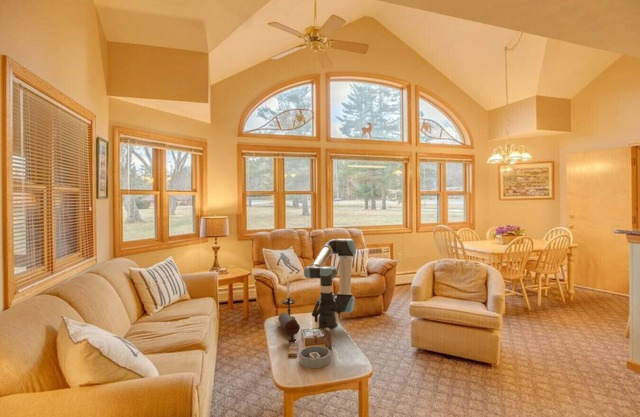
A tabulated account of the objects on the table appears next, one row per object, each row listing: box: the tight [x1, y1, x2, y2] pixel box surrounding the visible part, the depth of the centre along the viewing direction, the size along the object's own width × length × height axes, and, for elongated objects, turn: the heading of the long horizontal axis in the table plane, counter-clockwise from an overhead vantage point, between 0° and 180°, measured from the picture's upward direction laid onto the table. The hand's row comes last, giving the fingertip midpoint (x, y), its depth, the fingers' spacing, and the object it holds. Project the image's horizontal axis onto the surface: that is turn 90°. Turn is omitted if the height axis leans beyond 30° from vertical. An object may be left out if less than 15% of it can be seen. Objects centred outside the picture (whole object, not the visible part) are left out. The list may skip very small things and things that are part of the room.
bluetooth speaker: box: [278, 312, 292, 329], centre depth 245 cm, size 23×9×10 cm, turn 21°
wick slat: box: [323, 328, 333, 351], centre depth 213 cm, size 2×5×12 cm, turn 23°
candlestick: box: [281, 276, 296, 320], centre depth 267 cm, size 11×11×35 cm
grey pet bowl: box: [298, 345, 331, 369], centre depth 196 cm, size 18×18×5 cm
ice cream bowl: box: [283, 318, 301, 343], centre depth 225 cm, size 11×11×15 cm
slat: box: [287, 344, 299, 358], centre depth 208 cm, size 12×5×2 cm, turn 1°
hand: (327, 325), depth 212 cm, fingers open, 13 cm apart
